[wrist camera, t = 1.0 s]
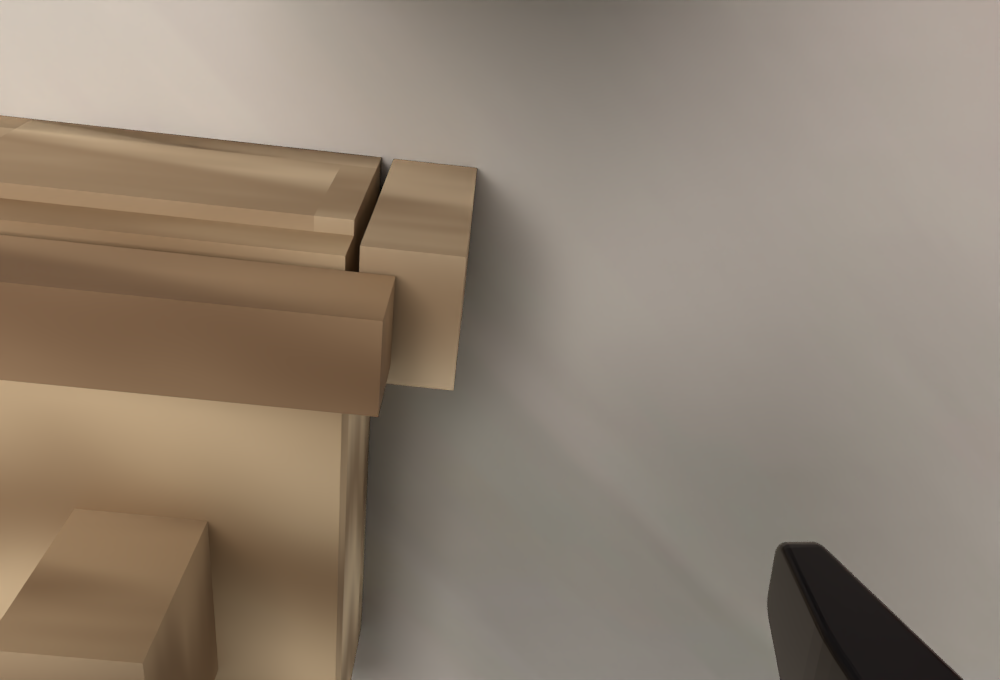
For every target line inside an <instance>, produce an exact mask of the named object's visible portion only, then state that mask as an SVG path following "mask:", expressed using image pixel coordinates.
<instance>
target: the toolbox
mask: <svg viewBox="0 0 1000 680" xmlns="http://www.w3.org/2000/svg"><path fill="white" fill-rule="evenodd" d="M380 172H381V157H372V156H363V155H354V154H344V153H335V152H326V151H317V150H308V149H299V148H290V147H281V146H272V145H263V144H254V143H244V142H235V141H226V140H217V139H208V138H199V137H190V136H181V135H172V134H163V133H154V132H145V131H135V130H126V129H117V128H108V127H99V126H90V125H81V124H72V123H63V122H54V121H45V120H35V119H26V118H17V117H8V116H0V198H6V199H15V200H24V201H34V202H43V203H52V204H62V205H71V206H81V207H90V208H99V209H109V210H118V211H127V212H137V213H146V214H156V215H165V216H174V217H184V218H193V219H202V220H212V221H221V222H231V223H240V224H249V225H259V226H268V227H277V228H287V229H296V230H306V231H315V232H324V233H334V234H343V235H352V236H354V245H353V272H361V273H371V274H380V275H390V276H395V292H394V310H393V328H392V347H391V365H390V370H389V374H388V378H387V382H386V384H393V385H403V386H413V387H423V388H434V389H444V390H453V389H454V380H455V371H456V363H457V354H458V345H459V336H460V327H461V319H462V310H463V301H464V292H465V284H466V274H467V264H468V254H469V244H470V234H471V223H472V213H473V203H474V193H475V183H476V173H477V168H472V167H463V166H453V165H444V164H435V163H426V162H417V161H408V160H399V159H393V162H392V164H391V167H390V170H389V172H388V175H387V177H386V180H385V183H384V185H383V188H382V190H381V193H380ZM369 429H370V416H362V415H352V414H349V421H348V457H347V492H346V527H345V562H344V597H343V632H342V668H341V680H351V676H352V671H353V666H354V661H355V656H356V651H357V646H358V641H359V636H360V631H361V617H362V593H363V570H364V546H365V523H366V500H367V476H368V453H369Z"/></svg>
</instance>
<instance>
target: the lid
mask: <svg viewBox="0 0 1000 680" xmlns="http://www.w3.org/2000/svg"><path fill="white" fill-rule="evenodd" d="M0 235H8V236H17V237H27V238H36V239H46V240H55V241H65V242H74V243H84V244H93V245H103V246H113V247H122V248H132V249H141V250H151V251H160V252H170V253H179V254H189V255H199V256H208V257H218V258H227V259H237V260H246V261H256V262H265V263H275V264H285V265H294V266H304V267H313V268H323V269H332V270H342V271H351V272H353V245H354V236H352V235H343V234H334V233H324V232H315V231H306V230H296V229H287V228H277V227H268V226H259V225H249V224H240V223H231V222H221V221H212V220H202V219H193V218H184V217H174V216H165V215H156V214H146V213H137V212H127V211H118V210H109V209H99V208H90V207H81V206H71V205H62V204H52V203H43V202H34V201H24V200H15V199H6V198H0ZM348 421H349V414H342V413H332V412H322V411H311V410H301V409H291V408H281V407H271V406H260V405H250V404H240V403H230V402H220V401H210V400H199V399H189V398H179V397H169V396H159V395H148V394H138V393H128V392H118V391H108V390H97V389H87V388H77V387H67V386H57V385H46V384H36V383H26V382H16V381H6V380H0V680H341V668H342V632H343V597H344V562H345V527H346V492H347V457H348Z"/></svg>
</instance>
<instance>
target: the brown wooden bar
mask: <svg viewBox="0 0 1000 680" xmlns="http://www.w3.org/2000/svg"><path fill="white" fill-rule="evenodd" d="M394 292H395V276H390V275H380V274H371V273H361V272H351V271H342V270H332V269H323V268H313V267H304V266H294V265H285V264H275V263H265V262H256V261H246V260H237V259H227V258H218V257H208V256H199V255H189V254H179V253H170V252H160V251H151V250H141V249H132V248H122V247H113V246H103V245H93V244H84V243H74V242H65V241H55V240H46V239H36V238H27V237H17V236H8V235H0V380H6V381H16V382H26V383H36V384H46V385H57V386H67V387H77V388H87V389H97V390H108V391H118V392H128V393H138V394H148V395H159V396H169V397H179V398H189V399H199V400H210V401H220V402H230V403H240V404H250V405H260V406H271V407H281V408H291V409H301V410H311V411H322V412H332V413H342V414H352V415H362V416H373V417H378V416H379V412H380V407H381V403H382V399H383V395H384V391H385V387H386V382H387V378H388V374H389V370H390V365H391V347H392V328H393V310H394Z"/></svg>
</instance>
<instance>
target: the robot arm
mask: <svg viewBox="0 0 1000 680" xmlns="http://www.w3.org/2000/svg"><path fill="white" fill-rule="evenodd" d="M767 607H768V617H769V623H770V628H771V634H772V639H773V644H774V649H775V655H776V660H777V665H778V670H779V676H780V680H963V679H962V678H961V677H960V676H959V675H958V674H957V673H956V672H955V671H954V670H953V669H952V668H951V667H950V666H948V665H947V664H946V663H945V662H944V661H943V660H942V659H941V658H940V657H939V656H938V655H937V654H936V653H935V652H934V651H933V650H932V649H931V648H930V647H929V646H927V645H926V644H925V643H924V642H923V641H922V640H921V639H920V638H919V637H918V636H917V635H916V634H915V633H914V632H913V631H912V630H911V629H910V628H909V627H908V626H906V625H905V624H904V623H903V622H902V621H901V620H900V619H899V618H898V617H897V616H896V615H895V614H894V613H893V612H892V611H891V610H890V609H889V608H888V607H887V606H885V605H884V604H883V603H882V602H881V601H880V600H879V599H878V598H877V597H876V596H875V595H874V594H873V593H872V592H871V591H870V590H869V589H868V588H867V587H866V586H865V585H863V584H862V583H861V582H860V581H859V580H858V579H857V578H856V577H855V576H854V575H853V574H852V573H851V572H850V571H849V570H848V569H847V568H846V567H845V566H844V565H842V564H841V563H840V562H839V561H838V560H837V559H836V558H835V557H834V556H833V555H832V554H831V553H830V552H829V551H828V550H827V549H826V548H825V547H823V546H822V545H820V544H818V543H816V542H784V543H781V544H780V545H779V546H778V547H777V549H776V552H775V557H774V562H773V568H772V574H771V579H770V585H769V591H768V598H767Z"/></svg>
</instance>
